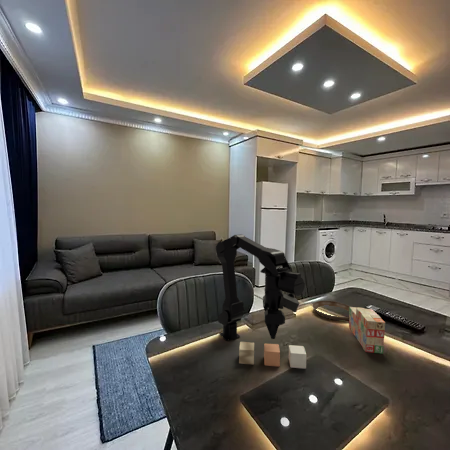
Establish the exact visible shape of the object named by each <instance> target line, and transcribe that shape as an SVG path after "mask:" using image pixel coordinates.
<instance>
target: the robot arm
mask: <svg viewBox="0 0 450 450" xmlns="http://www.w3.org/2000/svg"><path fill="white" fill-rule="evenodd" d="M239 249H242V250H243V251H244V252H247V253H249V254H250V255H251V256H254V257H256V259H257V260H258V261H259V263H260V264H261V265H262V266H263V268H262V269H260V271H259V272H260V273H262V274H264V275H265V276H264V295H263V296H262V305H263V306H262V307H263V310H264V311H263V312H264V316H263V320H264V323H265V326H266V328H267V330H268V333H269V334H268V335H269V336H270V339H271V340H275V339H276V338H277V337H276V336H277V334H278V333H277V332H278V330H279V327H280V326H283V325H284V324H286V315H285V313H284V312H283V311H282V310H284V308H285V309H287V310H290V311H291V312H293V313H296V312H297V310H298V308H299V306H300V302H299V300H298V299H297V298H296V297H299V296H301V295H302V294H303V293H304V290H305V286H306V285H305V281H304V279H303V277H302V274H301V273H300V272H293V269H292V267H291V266H290V263H289V262H288V260H287V258H286V255H285V253H284V252H283V251H282V250H279V249H275V248H271V247H270V248H269V247H265V246H264V245H262V244H261V243H258V242H257V241H254V240H253V239H251V238H248V237H247V236H246V235H244V234H242V233H241V234H234V235H232V236H230V237H229V238H226V239H224V240H222V241H218V242H217V244H216V246H215V252H216V255H217V259H218V260H219V261H220V262H221V267H222V275H223V279H222V280H223V285H224V287H223V288H224V296H225V297H224V301H223V303H222V307H221V308H222V311H221V313H220V314H219V315H218V316H217V320H218V321H217V322H218V323H219V324H221V325H222V332H219V334H218V335H219V336H220V337H221V338H222V339H224V340H225V341H226V342H227V341H232V340H235V339H239V338H241V336H240V335H239V334H238V322H241V320H242V318H243V316H244V313H245V307H244V304H245V303H244V301H242V300H241V299H240V298H239V297H238V288H237V279H236V278H237V277H236V270H235V260H236V258H237V255H238V253H237V252H238V251H237V250H239ZM283 292H284V293H283ZM295 296H296V297H295Z"/></svg>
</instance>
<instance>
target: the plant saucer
mask: <svg viewBox="0 0 450 450" xmlns="http://www.w3.org/2000/svg"><path fill="white" fill-rule="evenodd" d="M324 305H329V306H335V307H340V308H343V309H345V310H347V311H349V307H352V306H351V305H348V304H346V303H342V302H338V301H333V300H318V301H315V302H313V303H312V305H311V306H312V308H313V310H314V311H315V312H316V313H317V314H318V315H319V316H321V317H322V316H323V317H322V318H325V317H326V318H325V319H328V318H329V320H331V319H333V320H332V321H338V320H345V321H349V317H337V316H331V315H327V314H324V313H322V312H319V311H317V310H316V309H317V308H318V307H320V306H324Z"/></svg>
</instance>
